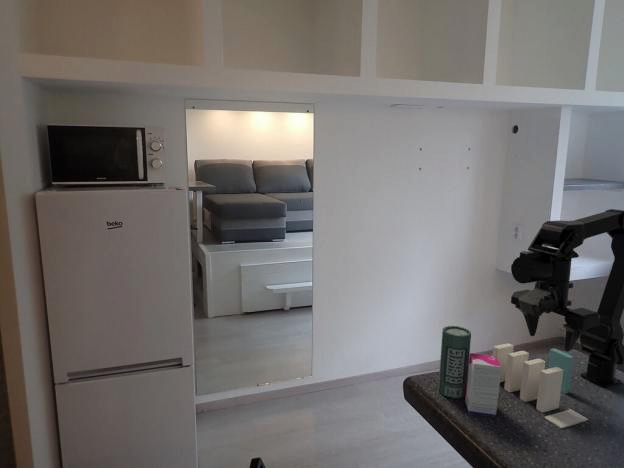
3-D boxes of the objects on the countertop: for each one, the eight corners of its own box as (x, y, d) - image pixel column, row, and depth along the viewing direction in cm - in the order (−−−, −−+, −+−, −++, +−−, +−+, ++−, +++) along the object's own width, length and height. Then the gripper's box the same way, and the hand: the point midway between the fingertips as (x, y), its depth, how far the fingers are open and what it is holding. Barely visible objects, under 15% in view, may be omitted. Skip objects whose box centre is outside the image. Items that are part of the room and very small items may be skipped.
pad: (570, 410, 98) (570, 409, 98) (587, 420, 94) (588, 419, 94) (544, 418, 95) (544, 416, 95) (561, 428, 91) (561, 427, 91)
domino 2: (504, 389, 106) (507, 353, 105) (519, 385, 108) (523, 350, 107) (509, 392, 105) (513, 356, 104) (525, 388, 107) (529, 353, 105)
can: (464, 386, 107) (469, 327, 105) (466, 399, 101) (472, 337, 99) (438, 383, 109) (442, 324, 106) (439, 396, 103) (443, 334, 100)
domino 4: (536, 408, 98) (540, 370, 97) (552, 404, 100) (556, 366, 99) (542, 412, 97) (547, 373, 95) (558, 407, 99) (563, 370, 97)
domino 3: (519, 398, 102) (523, 361, 101) (535, 394, 104) (539, 358, 103) (525, 402, 101) (529, 364, 99) (541, 397, 103) (545, 361, 101)
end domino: (550, 382, 110) (554, 348, 109) (569, 392, 106) (573, 356, 104) (545, 383, 109) (550, 349, 108) (564, 393, 105) (568, 357, 103)
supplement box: (497, 417, 95) (502, 367, 93) (467, 413, 96) (472, 363, 94) (491, 403, 100) (496, 355, 98) (464, 399, 101) (468, 352, 100)
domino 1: (490, 380, 111) (493, 346, 109) (505, 376, 113) (508, 343, 111) (495, 383, 109) (498, 348, 108) (510, 379, 111) (513, 345, 110)
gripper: (495, 272, 105) (491, 334, 108) (567, 294, 89) (560, 367, 91) (530, 266, 110) (525, 326, 113) (605, 287, 93) (597, 357, 96)
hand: (549, 343), depth 103 cm, fingers open, 9 cm apart
